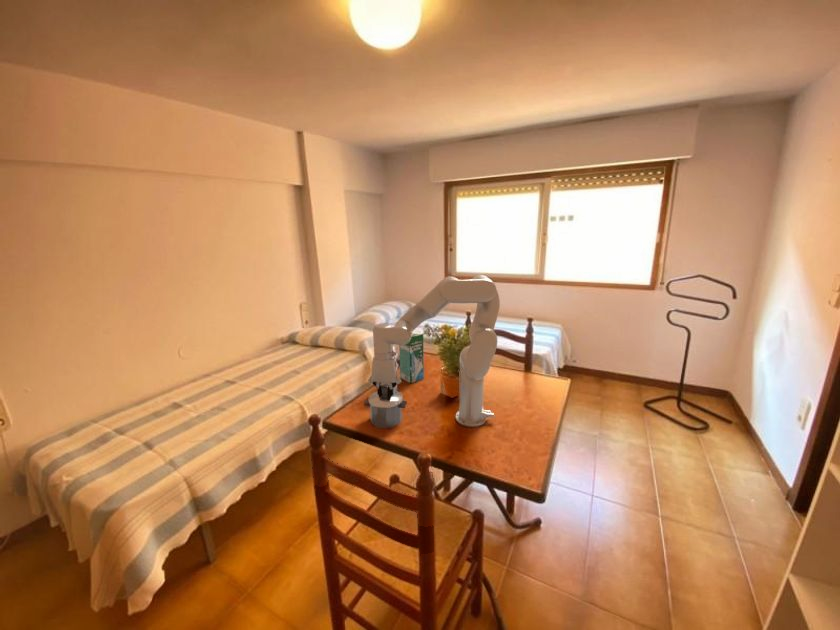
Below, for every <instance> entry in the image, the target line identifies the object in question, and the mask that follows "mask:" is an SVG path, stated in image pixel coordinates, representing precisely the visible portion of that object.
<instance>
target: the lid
mask: <svg viewBox="0 0 840 630" xmlns="http://www.w3.org/2000/svg"><path fill="white" fill-rule="evenodd" d="M367 399H368V401H369V404H370V405H371V406H373V407H376V408H391V407H395V406H397V405H399V404H400V403H401V402H402V401H404V400H403V399H404V397H403V394H402V392H400V391H398V390H397V391H395V390H393V396H392V397H391V399H390V398H389V385H387V384H384V385H381V398H379V395H378V394H377V390H376V391H374V392H372V393H371V394H370V395H369V396H368V398H367Z"/></svg>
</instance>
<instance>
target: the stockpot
mask: <svg viewBox="0 0 840 630" xmlns="http://www.w3.org/2000/svg"><path fill="white" fill-rule="evenodd" d="M407 404H408V401H407V400H402V402H401V403H400V404H399V405H397V406H395V407H391V408H376V407H373V406H371V405H370V404H369V401H368V398H366V399H365V401H364V403H363V406H364V407H365V406H366V407H369V416H370V423H371V424H372V426H374V427H376V428H378V429H389V428H394V427H396V426H398V425H399V424H400V423H401V421H402V419H403V415H402V414H403V413H402V409H406V406H407Z"/></svg>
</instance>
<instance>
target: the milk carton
mask: <svg viewBox="0 0 840 630" xmlns="http://www.w3.org/2000/svg"><path fill="white" fill-rule="evenodd" d="M398 346H399V377H400V379H401V380H404V381H405V382H407V383H409V384H413V383H415V382H419V381H422V380H424V377H425V376H424V373H425V372H424V370H425V369H424V367H425V365H424V363H425V362H424V360H425V359H424V333H413V332H412V336H411V340H410V342H409V343H408V344H405V345H398Z"/></svg>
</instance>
